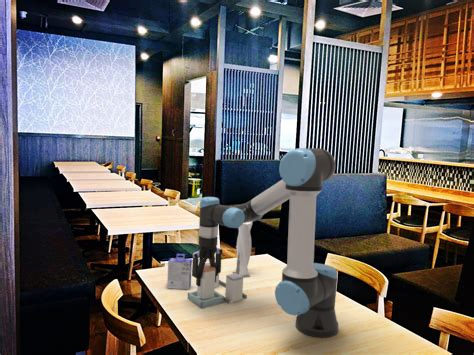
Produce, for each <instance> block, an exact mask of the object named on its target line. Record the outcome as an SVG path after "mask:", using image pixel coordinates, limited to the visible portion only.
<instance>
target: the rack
mask: <svg viewBox="0 0 474 355" xmlns="http://www.w3.org/2000/svg"><path fill="white" fill-rule="evenodd" d="M205 265H210V262H209V261H208V262H205ZM225 276H226V277H225V282H224V281H222V280H221V279H220V273H218V276H216V282H215V288H217V287H219V286H221V287H224V288H225V296H224V295H222V294H221V293H219V292H218V291H216V290H214V291H215V292H217V293H219V294H220V295H222V296H224V303H226V304H227V305H229V304H230V303H235V302H240V301H242V300H243V299H244V300H246V299H247V298H248V296H247V293H246V294H245V293H244V292H243V291H244V290H243V289H244V277H243V276H241V275H239V274H237V273H235V274H233V273H231V274H227V275H225Z"/></svg>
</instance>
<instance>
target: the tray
mask: <svg viewBox="0 0 474 355" xmlns="http://www.w3.org/2000/svg"><path fill="white" fill-rule="evenodd" d="M215 291H216V290H214V297H211V298H207V299H202V298H201V297H199V296H198V295H197V290H195V291H190V292H187V300H188V301H190V302H192V303H193V304H195V305H196V306H197V307H199V308H200V309H204V308H208V307H212V306H215V305H220V304H223V303H225V302H224V297H225V296H224V295H223V296H222V294H221V293H219V292H218V291H216V292H215ZM217 292H218V293H217ZM220 294H221V295H220Z"/></svg>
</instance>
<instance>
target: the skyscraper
mask: <svg viewBox="0 0 474 355" xmlns="http://www.w3.org/2000/svg"><path fill="white" fill-rule="evenodd" d="M253 222H254V221H251V222H246V223H243V224H242V225H241V226H240V227H239V228H238V235H237V239H236V268H235V271H232V272H231V274H235V273H237V274H239V275H241V276H243V278H250V277H251V275H250V272H249V268H248V266H249V262H250V259H251V253H252V236H251V229H252V226H253Z"/></svg>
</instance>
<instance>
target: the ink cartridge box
mask: <svg viewBox="0 0 474 355" xmlns="http://www.w3.org/2000/svg"><path fill="white" fill-rule="evenodd" d="M181 256H182V257H181ZM185 257H186V254H185V253H176V257H175V258H173V257H172V258H169V260H168V262H167V280H166V281H167V282H166V283H167V286H166V288H167V289H173V290H174V289H175V290H176V289H177V290H190V288H191V287H192V264H193V258H185Z"/></svg>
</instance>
